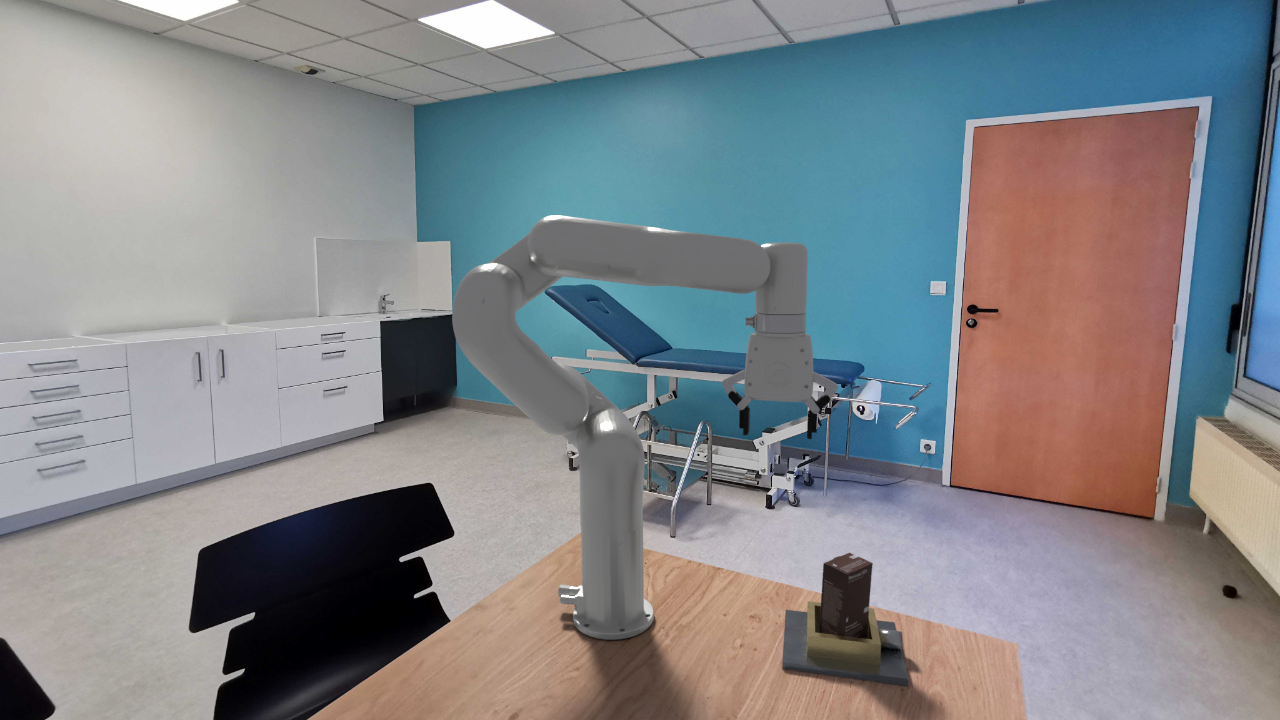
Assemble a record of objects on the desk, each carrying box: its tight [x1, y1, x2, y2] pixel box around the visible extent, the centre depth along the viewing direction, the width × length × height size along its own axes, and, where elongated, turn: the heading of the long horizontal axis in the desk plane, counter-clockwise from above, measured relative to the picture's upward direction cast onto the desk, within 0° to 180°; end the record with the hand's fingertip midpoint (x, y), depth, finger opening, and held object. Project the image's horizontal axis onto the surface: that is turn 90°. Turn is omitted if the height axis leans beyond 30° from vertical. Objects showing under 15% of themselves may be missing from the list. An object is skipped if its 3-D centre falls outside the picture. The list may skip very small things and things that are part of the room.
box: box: [819, 552, 874, 639], centre depth 92 cm, size 6×4×12 cm
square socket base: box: [781, 600, 909, 687], centre depth 93 cm, size 16×14×4 cm
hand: (777, 435), depth 101 cm, fingers open, 9 cm apart
